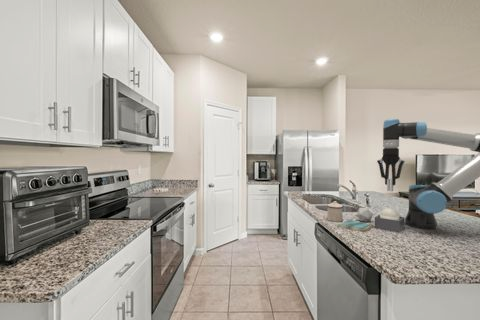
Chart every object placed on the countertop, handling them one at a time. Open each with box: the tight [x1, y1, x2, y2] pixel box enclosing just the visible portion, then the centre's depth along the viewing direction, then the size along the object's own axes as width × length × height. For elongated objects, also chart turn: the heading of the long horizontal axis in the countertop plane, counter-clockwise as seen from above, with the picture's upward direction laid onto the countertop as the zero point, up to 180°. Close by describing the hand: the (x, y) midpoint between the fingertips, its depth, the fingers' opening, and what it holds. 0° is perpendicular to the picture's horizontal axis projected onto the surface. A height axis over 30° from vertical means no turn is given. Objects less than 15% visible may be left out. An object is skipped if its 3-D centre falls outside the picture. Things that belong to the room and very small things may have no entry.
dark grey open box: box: [374, 214, 406, 234], centre depth 139 cm, size 12×12×6 cm
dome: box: [379, 207, 401, 221], centre depth 139 cm, size 9×9×9 cm
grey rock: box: [355, 207, 374, 223], centre depth 154 cm, size 8×9×10 cm
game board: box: [337, 219, 374, 233], centre depth 141 cm, size 14×14×1 cm
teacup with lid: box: [326, 200, 344, 223], centre depth 157 cm, size 12×9×12 cm
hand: (390, 190), depth 138 cm, fingers closed
